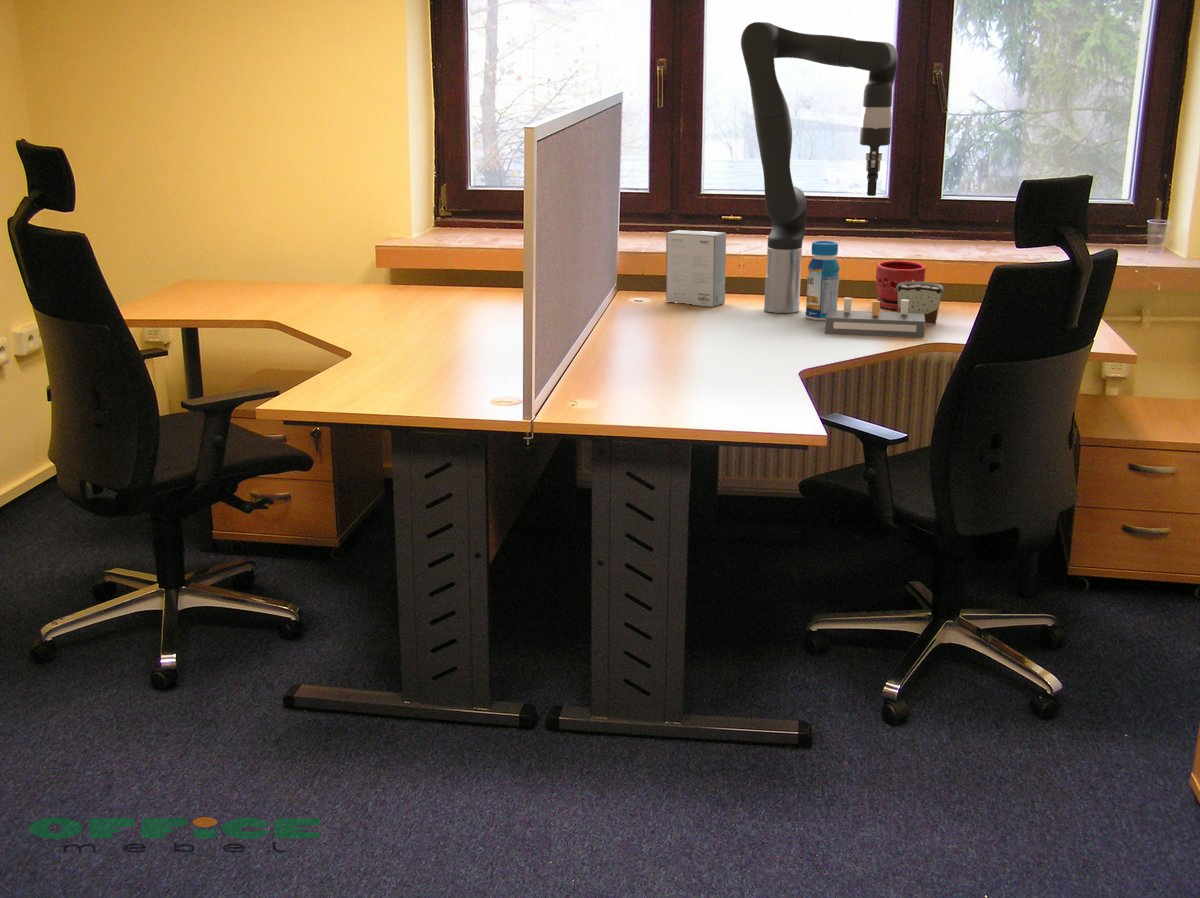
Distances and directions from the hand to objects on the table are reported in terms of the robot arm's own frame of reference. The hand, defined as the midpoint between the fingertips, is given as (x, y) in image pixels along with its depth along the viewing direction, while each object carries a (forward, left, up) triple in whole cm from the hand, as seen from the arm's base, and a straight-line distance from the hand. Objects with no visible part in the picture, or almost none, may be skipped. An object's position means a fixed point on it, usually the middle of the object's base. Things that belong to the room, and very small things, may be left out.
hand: (871, 195), depth 300 cm
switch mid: (+3, -17, -28) cm, 33 cm away
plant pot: (+9, +17, -32) cm, 38 cm away
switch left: (-4, -14, -28) cm, 31 cm away
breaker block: (+3, -16, -32) cm, 36 cm away
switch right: (+10, -14, -28) cm, 33 cm away
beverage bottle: (-11, -2, -32) cm, 34 cm away
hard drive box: (-47, +12, -32) cm, 58 cm away
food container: (+14, -1, -32) cm, 35 cm away
